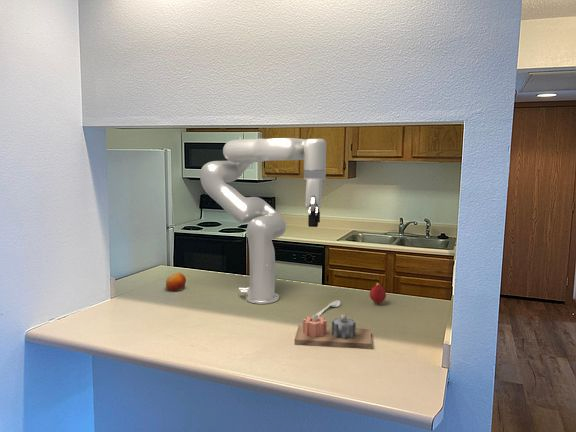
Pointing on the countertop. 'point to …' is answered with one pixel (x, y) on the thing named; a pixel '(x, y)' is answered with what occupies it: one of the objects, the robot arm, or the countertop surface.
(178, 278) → the fruit
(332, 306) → the spoon
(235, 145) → the robot arm
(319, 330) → the pink gear
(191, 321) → the countertop surface
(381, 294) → the onion
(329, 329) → the gear board
